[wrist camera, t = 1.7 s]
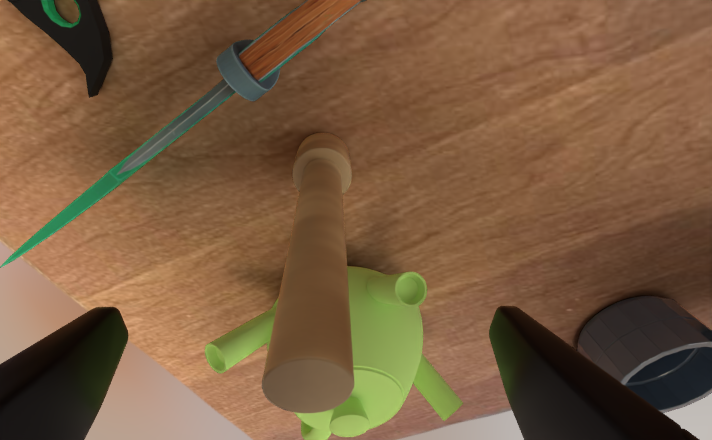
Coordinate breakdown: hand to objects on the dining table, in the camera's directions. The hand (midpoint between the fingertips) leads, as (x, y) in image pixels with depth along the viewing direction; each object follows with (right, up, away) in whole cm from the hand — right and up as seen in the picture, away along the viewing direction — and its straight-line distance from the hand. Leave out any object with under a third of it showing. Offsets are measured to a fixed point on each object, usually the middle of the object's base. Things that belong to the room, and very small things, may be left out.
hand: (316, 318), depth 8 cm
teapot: (0, -3, +15) cm, 15 cm away
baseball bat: (-1, +6, +10) cm, 11 cm away
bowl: (+22, -6, +18) cm, 30 cm away
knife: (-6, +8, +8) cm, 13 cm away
